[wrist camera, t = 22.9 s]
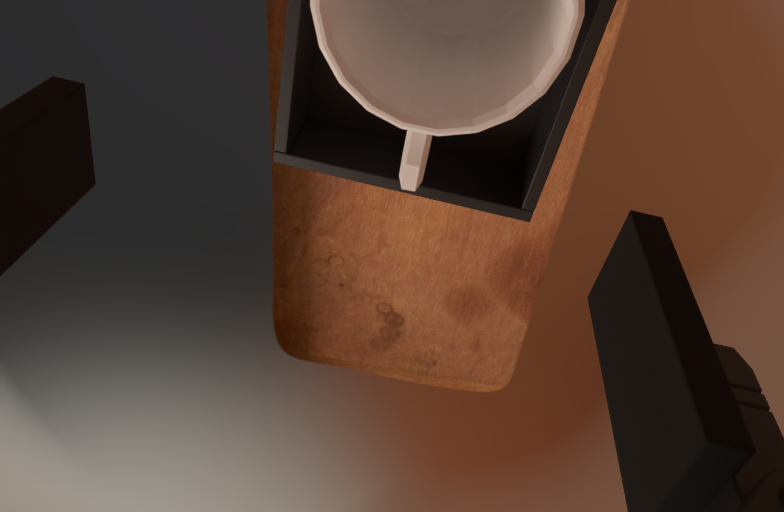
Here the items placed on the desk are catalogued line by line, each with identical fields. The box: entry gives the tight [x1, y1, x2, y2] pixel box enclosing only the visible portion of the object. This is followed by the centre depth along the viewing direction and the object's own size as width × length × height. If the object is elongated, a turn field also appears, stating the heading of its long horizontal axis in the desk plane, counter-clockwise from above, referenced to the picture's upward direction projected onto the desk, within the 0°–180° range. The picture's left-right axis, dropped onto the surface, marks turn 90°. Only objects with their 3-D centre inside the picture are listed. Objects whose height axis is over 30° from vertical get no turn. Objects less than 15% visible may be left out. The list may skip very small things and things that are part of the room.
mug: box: [310, 0, 585, 192], centre depth 24 cm, size 8×12×10 cm
